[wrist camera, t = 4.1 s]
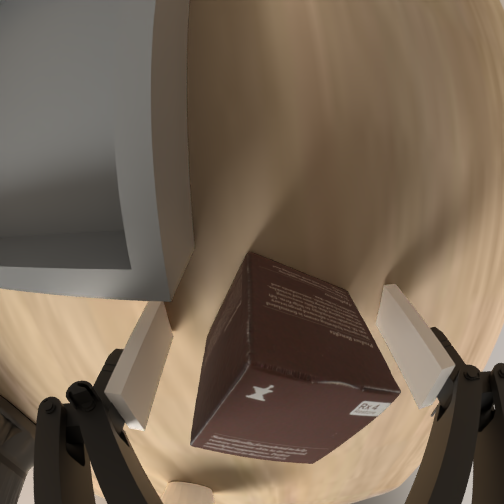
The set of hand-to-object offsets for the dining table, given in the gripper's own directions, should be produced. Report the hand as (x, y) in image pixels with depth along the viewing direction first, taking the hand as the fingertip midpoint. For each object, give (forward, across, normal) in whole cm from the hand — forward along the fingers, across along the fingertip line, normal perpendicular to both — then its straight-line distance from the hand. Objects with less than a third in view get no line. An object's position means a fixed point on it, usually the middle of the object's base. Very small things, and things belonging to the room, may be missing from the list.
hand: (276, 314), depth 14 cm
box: (+1, 0, 0) cm, 1 cm away
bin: (0, -13, +14) cm, 20 cm away
